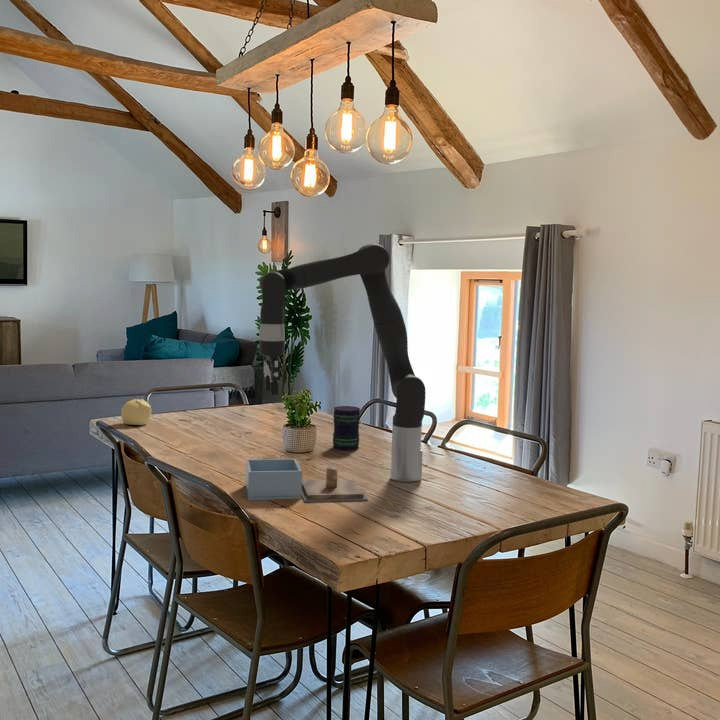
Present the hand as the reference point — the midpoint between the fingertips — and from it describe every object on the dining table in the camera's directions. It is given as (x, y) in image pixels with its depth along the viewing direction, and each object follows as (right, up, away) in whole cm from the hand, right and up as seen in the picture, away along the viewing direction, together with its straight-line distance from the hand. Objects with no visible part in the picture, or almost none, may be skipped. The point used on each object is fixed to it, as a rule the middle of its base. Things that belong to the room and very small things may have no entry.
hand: (271, 392), depth 232 cm
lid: (+18, -29, -6) cm, 34 cm away
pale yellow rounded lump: (-65, -17, +86) cm, 109 cm away
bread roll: (-2, -27, +10) cm, 29 cm away
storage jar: (+21, -23, +54) cm, 63 cm away
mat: (+18, -29, -6) cm, 35 cm away
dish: (+1, -29, -7) cm, 30 cm away
